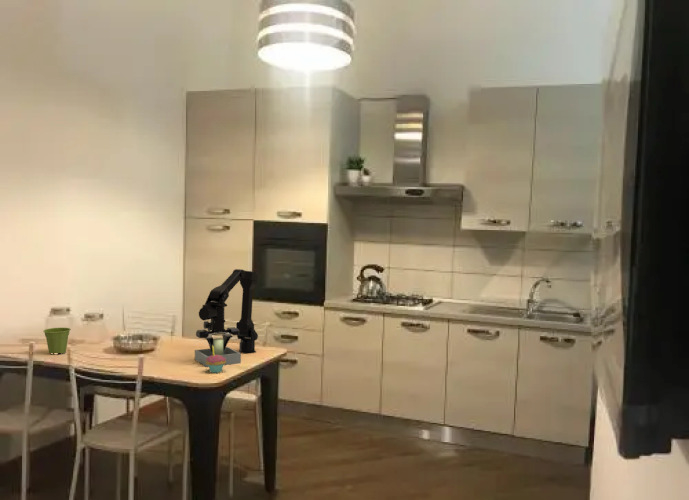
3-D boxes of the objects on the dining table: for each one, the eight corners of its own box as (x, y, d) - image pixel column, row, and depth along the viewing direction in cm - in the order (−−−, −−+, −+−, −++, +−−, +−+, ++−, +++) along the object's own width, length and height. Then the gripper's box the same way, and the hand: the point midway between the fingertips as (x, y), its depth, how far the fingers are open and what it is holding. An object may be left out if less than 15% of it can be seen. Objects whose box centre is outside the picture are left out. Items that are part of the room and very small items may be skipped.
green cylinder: (221, 353, 287) (221, 338, 287) (224, 355, 283) (225, 339, 283) (210, 354, 285) (210, 338, 284) (214, 356, 280) (214, 340, 280)
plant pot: (45, 351, 299) (45, 327, 298) (72, 350, 302) (72, 327, 301) (41, 356, 287) (40, 332, 287) (68, 355, 291) (68, 331, 290)
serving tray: (227, 356, 295) (228, 346, 295) (240, 363, 281) (240, 353, 281) (194, 359, 287) (194, 350, 286) (206, 367, 273) (206, 356, 273)
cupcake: (215, 374, 260) (216, 346, 259) (201, 371, 264) (201, 343, 264) (230, 370, 267) (230, 343, 267) (215, 368, 272) (215, 340, 271)
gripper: (230, 313, 295) (230, 346, 295) (192, 316, 285) (192, 349, 286) (239, 316, 285) (239, 350, 286) (200, 319, 275) (199, 354, 276)
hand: (217, 351), depth 284 cm, fingers closed on green cylinder, 5 cm apart
